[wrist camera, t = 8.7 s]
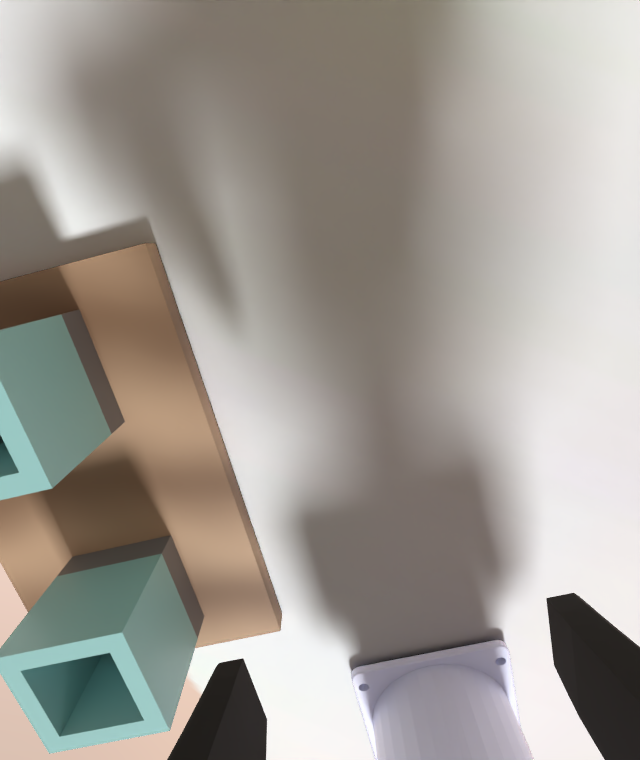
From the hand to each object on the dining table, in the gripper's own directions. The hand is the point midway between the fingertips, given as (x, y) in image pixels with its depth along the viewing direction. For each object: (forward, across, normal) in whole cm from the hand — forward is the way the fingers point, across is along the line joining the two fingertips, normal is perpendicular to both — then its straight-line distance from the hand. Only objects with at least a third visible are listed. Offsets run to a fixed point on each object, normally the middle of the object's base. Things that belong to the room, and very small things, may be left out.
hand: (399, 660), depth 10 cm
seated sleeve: (+8, +11, +3) cm, 14 cm away
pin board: (+9, +11, -2) cm, 15 cm away
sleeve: (+8, +11, -7) cm, 16 cm away
